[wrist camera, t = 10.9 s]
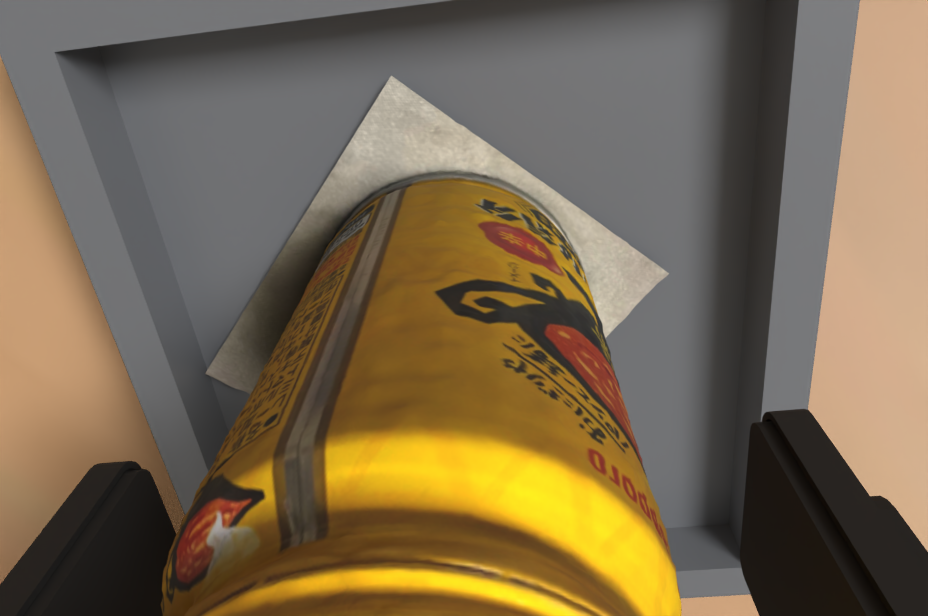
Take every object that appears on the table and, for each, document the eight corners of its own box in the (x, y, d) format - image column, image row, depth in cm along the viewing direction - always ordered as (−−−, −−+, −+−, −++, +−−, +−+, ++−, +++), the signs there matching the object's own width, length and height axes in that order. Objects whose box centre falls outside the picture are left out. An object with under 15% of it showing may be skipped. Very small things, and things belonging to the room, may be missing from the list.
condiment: (667, 269, 15) (1068, 971, 5) (452, 500, 19) (405, 1223, 8) (392, 72, 14) (55, 487, 3) (209, 365, 17) (-260, 1058, 6)
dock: (12, -32, 14) (-63, -30, 12) (850, -151, 12) (914, -169, 10) (240, 577, 21) (216, 637, 19) (772, 543, 20) (802, 604, 18)
